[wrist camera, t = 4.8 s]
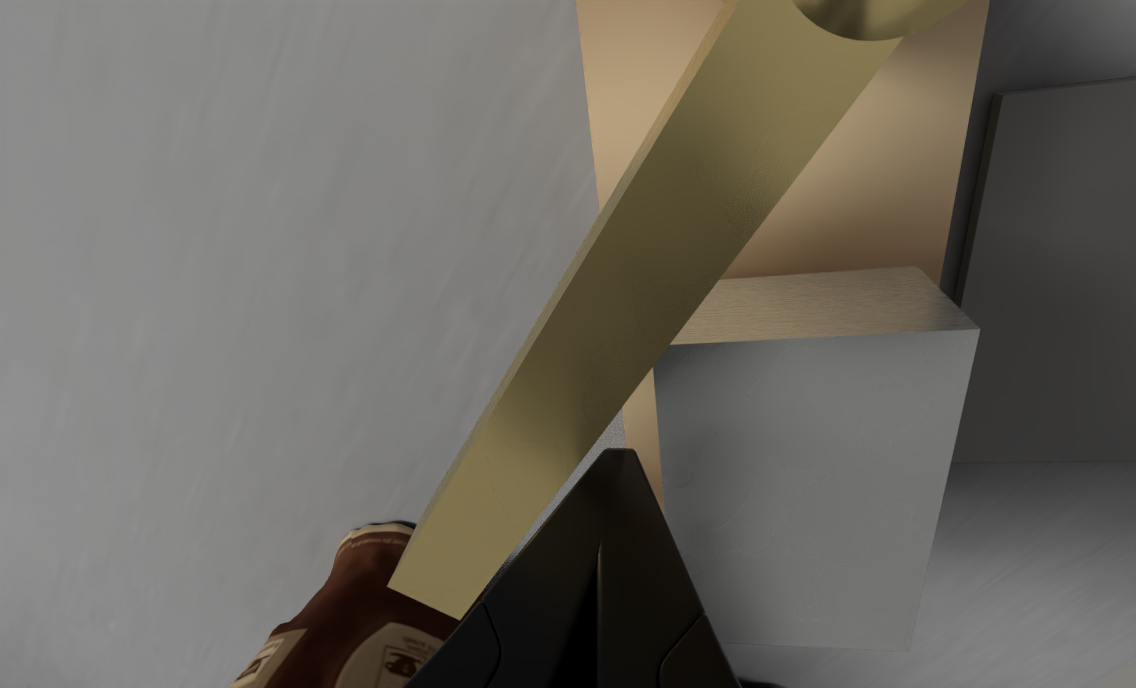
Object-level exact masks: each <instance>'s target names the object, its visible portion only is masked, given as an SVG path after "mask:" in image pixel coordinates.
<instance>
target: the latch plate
mask: <svg viewBox="0 0 1136 688" xmlns="http://www.w3.org/2000/svg"><path fill="white" fill-rule="evenodd" d="M989 4H990V0H969V1H968V2H967V3H965V4H964V5H963V6H962V7H960V8H959V9H958V10H956V11H955V12H954V13H952V14H951V15H949V16H947V17H946V18H944V19H943V20H941V21H939V22H938V23H936V24H934V25H932V26H929V27H927V28H925V29H923V30H921V31H918V32H915V33H913V34H910V35H907V36H904V37H903V39H902V40H901V41H900V43H899V44H898V45H897V47H896V48H895V49H894V50H893V52H892V53H891V54H890V56H889V57H888V58H887V60H886V61H885V62H884V64H883V65H882V66H881V68H880V69H879V70H878V72H877V73H876V74H875V75H874V77H873V78H872V79H871V81H870V82H869V83H868V85H867V86H866V87H865V89H864V90H863V91H862V93H861V94H860V95H859V97H858V98H857V99H856V100H855V102H854V103H853V104H852V106H851V107H850V108H849V110H848V111H847V112H846V114H845V115H844V116H843V118H842V119H841V120H840V121H839V123H838V124H837V125H836V127H835V128H834V129H833V131H832V132H831V133H830V135H829V136H828V137H827V139H826V140H825V141H824V143H823V144H822V145H821V146H820V148H819V149H818V150H817V152H816V153H815V154H814V156H813V157H812V158H811V160H810V161H809V162H808V164H807V165H806V166H805V167H804V169H803V170H802V171H801V173H800V174H799V175H798V177H797V178H796V179H795V181H794V182H793V183H792V185H791V186H790V187H789V189H788V190H787V191H786V192H785V194H784V195H783V196H782V198H781V199H780V200H779V202H778V203H777V204H776V206H775V207H774V208H773V210H772V211H771V212H770V213H769V215H768V216H767V217H766V219H765V220H764V221H763V223H762V224H761V225H760V227H759V228H758V229H757V231H756V232H755V233H754V235H753V236H752V237H751V238H750V240H749V241H748V242H747V244H746V245H745V246H744V248H743V249H742V250H741V252H740V253H739V254H738V256H737V257H736V258H735V260H734V261H733V262H732V263H731V265H730V266H729V267H728V269H727V270H726V271H725V273H724V274H723V275H722V277H721V278H720V279H719V280H723V279H738V278H752V277H766V276H780V275H795V274H809V273H823V272H837V271H852V270H866V269H880V268H895V267H909V266H917V267H918V268H919V269H920V270H921V271H922V272H923V273H924V274H925V275H926V276H927V277H928V278H929V279H930V280H931V281H932V282H933V283H934V284H935V285H936V286H937V287H938V288H939V286H940V280H941V274H942V269H943V263H944V257H945V252H946V246H947V241H948V235H949V229H950V224H951V218H952V212H953V207H954V201H955V195H956V190H957V184H958V178H959V173H960V167H961V162H962V156H963V150H964V145H965V139H966V133H967V128H968V122H969V116H970V111H971V105H972V100H973V94H974V88H975V83H976V77H977V71H978V66H979V60H980V54H981V49H982V43H983V37H984V32H985V26H986V21H987V15H988V9H989ZM723 5H724V2H723V0H576V6H577V15H578V24H579V33H580V41H581V50H582V59H583V68H584V77H585V85H586V94H587V103H588V112H589V120H590V129H591V138H592V147H593V156H594V164H595V173H596V182H597V191H598V199H599V208H600V213H601V211H602V209H603V208H604V206H605V204H606V203H607V201H608V199H609V198H610V196H611V194H612V192H613V191H614V189H615V187H616V186H617V184H618V182H619V181H620V179H621V177H622V176H623V174H624V172H625V170H626V169H627V167H628V165H629V164H630V162H631V160H632V159H633V157H634V155H635V154H636V152H637V150H638V148H639V147H640V145H641V143H642V142H643V140H644V138H645V137H646V135H647V133H648V132H649V130H650V128H651V126H652V125H653V123H654V121H655V120H656V118H657V116H658V115H659V113H660V111H661V110H662V108H663V106H664V104H665V103H666V101H667V99H668V98H669V96H670V94H671V93H672V91H673V89H674V88H675V86H676V84H677V82H678V81H679V79H680V77H681V76H682V74H683V72H684V71H685V69H686V67H687V66H688V64H689V62H690V60H691V59H692V57H693V55H694V54H695V52H696V50H697V49H698V47H699V45H700V44H701V42H702V40H703V38H704V37H705V35H706V33H707V32H708V30H709V28H710V27H711V25H712V23H713V22H714V20H715V18H716V16H717V15H718V13H719V11H720V10H721V8H722V6H723ZM622 410H623V419H624V428H625V436H626V445H627V448H632V449H634V450H635V451H636V453H637V455H638V457H639V460H640V462H641V464H642V466H643V469H644V471H645V473H646V476H647V478H648V480H649V483H650V485H651V487H652V489H653V492H654V494H655V496H656V499H657V501H658V503H659V506H660V508H661V510H662V512H663V515H664V517H665V511H664V499H663V486H662V474H661V461H660V449H659V437H658V424H657V412H656V399H655V387H654V374H653V367H652V369H651V370H650V371H649V373H648V374H647V375H646V376H645V378H644V379H643V380H642V382H641V383H640V384H639V386H638V387H637V388H636V390H635V391H634V392H633V394H632V395H631V396H630V398H629V399H628V400H627V401H626V403H625V404H624V405H623V407H622Z"/></svg>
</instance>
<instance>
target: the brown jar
mask: <svg viewBox="0 0 1136 688" xmlns="http://www.w3.org/2000/svg"><path fill="white" fill-rule="evenodd" d="M413 532H414V529H412V528H410V527H407V526H405V525H403V524H398V523H387V524H382V525H364V526H363V527H362V528H360V529H359V530H358V529H356V530H352V531H350V533H349V534H348V535H347V536H346V537H345V538H344V539H343V540H342V541H341V543H340V545H339V547H338V550H337V553H336V556H335V561H334V565H333V569H332V572H331V574H330V576H329V578H328V580H327V581H326V583H325V585H324V586H323V587H322V588H321V589H320V590H319V591H318V592H317V593H316V594H315V596H314V597H313V598H312V599H311V600H310V601H309V602H308V604H307V605H306V606H305V607H304V609H303V610H302V611H301V612H300V613H299V614H298V615H297V616H296V617H294V618H293V619H292V620H291V621H290V622H287V623H283V624H280V625H279V626H277V627H276V628H275V629H274V630H273V631H272V633H271V634H270V636H269V638H268V640H267V642H266V643H265V645H264V646H263V648H262V649H261V650H260V652H259V653H258V654H257V655H256V656H255V657H254V659H253V660H252V661H251V662H250V664H249V665H248V666H247V668H246V669H245V670H244V671H243V672H242V673H241V675H240V676H239V677H238V678H237V679H236V680H235V681H234V682H233V684H232V685H231V686H230V688H402V687H403V686H404V685H405V684H406V683H407V682H408V681H409V679H410V678H411V677H412V676H413V675H414V674H415V673H416V672H417V671H418V670H419V669H420V668H421V667H422V666H423V665H424V664H425V663H426V662H427V661H428V660H429V659H430V658H431V657H432V656H433V654H434V653H435V652H436V651H437V650H438V649H439V648H440V647H441V646H442V644H443V643H444V642H445V641H446V640H447V639H448V638H449V636H450V635H451V634H452V633H453V632H454V631H455V629H456V628H457V627H458V626H459V625H460V624H461V623H462V621H463V620H464V619H465V618H466V617H467V615H468V614H469V613H470V612H471V610H472V609H473V608H474V607H475V606H476V604H477V603H478V602H480V601H482V602H483V600H482V598H483V596H484V595H485V593H484V589H483V591H482V592H481V593H480V595H479V596H478V597H477V599H476V600H475V601H474V603H473V604H472V605H471V607H470V608H469V609H468V610H467V612H466V613H465V614H464V616H463V617H462V618H461V620H458V619H456V618H453V617H451V616H449V615H447V614H445V613H443V612H441V611H438V610H436V609H434V608H432V607H430V606H428V605H426V604H423V603H421V602H419V601H417V600H415V599H413V598H411V597H408V596H406V595H404V594H402V593H400V592H398V591H396V590H393V589H391V588H389V587H387V586H388V584H389V581H390V579H391V577H392V575H393V573H394V571H395V569H396V567H397V565H398V563H399V561H400V559H401V557H402V555H403V553H404V551H405V548H406V546H407V544H408V542H409V540H410V538H411V536H412V534H413Z"/></svg>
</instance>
